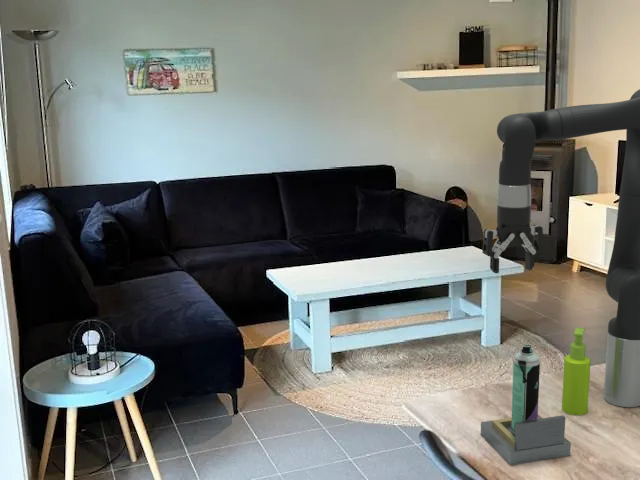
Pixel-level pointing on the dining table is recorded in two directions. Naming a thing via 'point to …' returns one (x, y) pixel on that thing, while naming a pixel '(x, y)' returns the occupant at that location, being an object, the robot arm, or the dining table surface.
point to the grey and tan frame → (527, 439)
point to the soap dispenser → (576, 377)
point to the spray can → (525, 386)
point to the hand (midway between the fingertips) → (512, 270)
